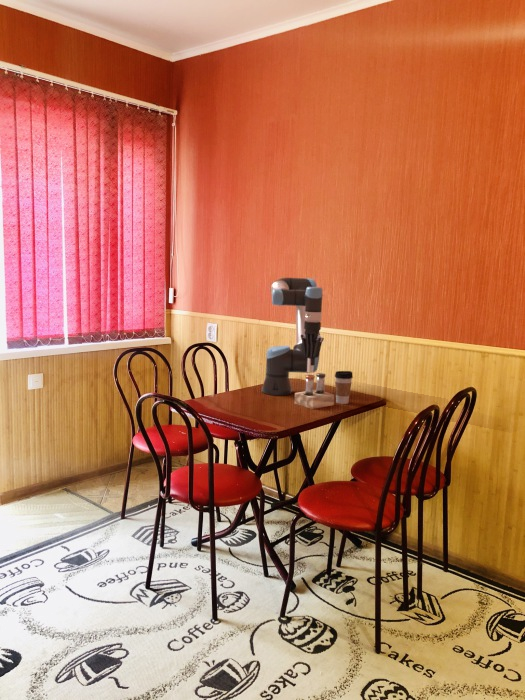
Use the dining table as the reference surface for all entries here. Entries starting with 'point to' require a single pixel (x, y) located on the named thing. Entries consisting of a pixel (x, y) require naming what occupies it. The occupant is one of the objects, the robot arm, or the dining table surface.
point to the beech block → (314, 399)
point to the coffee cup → (343, 386)
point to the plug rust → (309, 384)
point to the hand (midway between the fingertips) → (310, 371)
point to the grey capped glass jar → (320, 383)
